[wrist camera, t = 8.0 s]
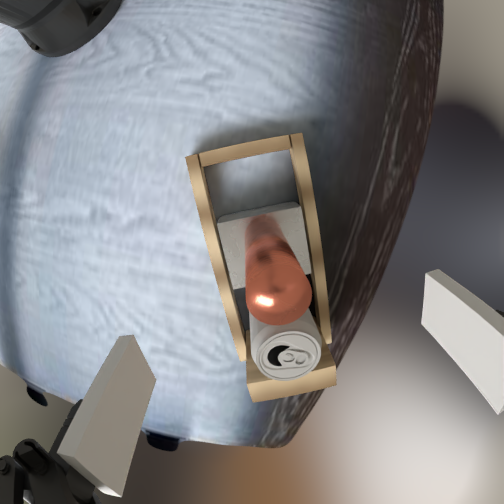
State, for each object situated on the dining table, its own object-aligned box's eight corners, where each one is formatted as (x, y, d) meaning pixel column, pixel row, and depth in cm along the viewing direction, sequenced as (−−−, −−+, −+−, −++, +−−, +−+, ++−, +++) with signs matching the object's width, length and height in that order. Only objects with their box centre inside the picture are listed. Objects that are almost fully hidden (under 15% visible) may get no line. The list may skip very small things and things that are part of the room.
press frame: (189, 157, 29) (165, 155, 19) (297, 134, 29) (321, 123, 19) (240, 349, 37) (239, 404, 27) (326, 332, 36) (348, 381, 27)
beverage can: (256, 266, 33) (262, 321, 22) (307, 278, 34) (336, 334, 22) (243, 313, 35) (243, 379, 23) (292, 322, 36) (310, 387, 24)
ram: (220, 216, 31) (194, 277, 15) (293, 200, 31) (348, 245, 14) (234, 274, 33) (227, 375, 17) (303, 260, 33) (354, 348, 17)
